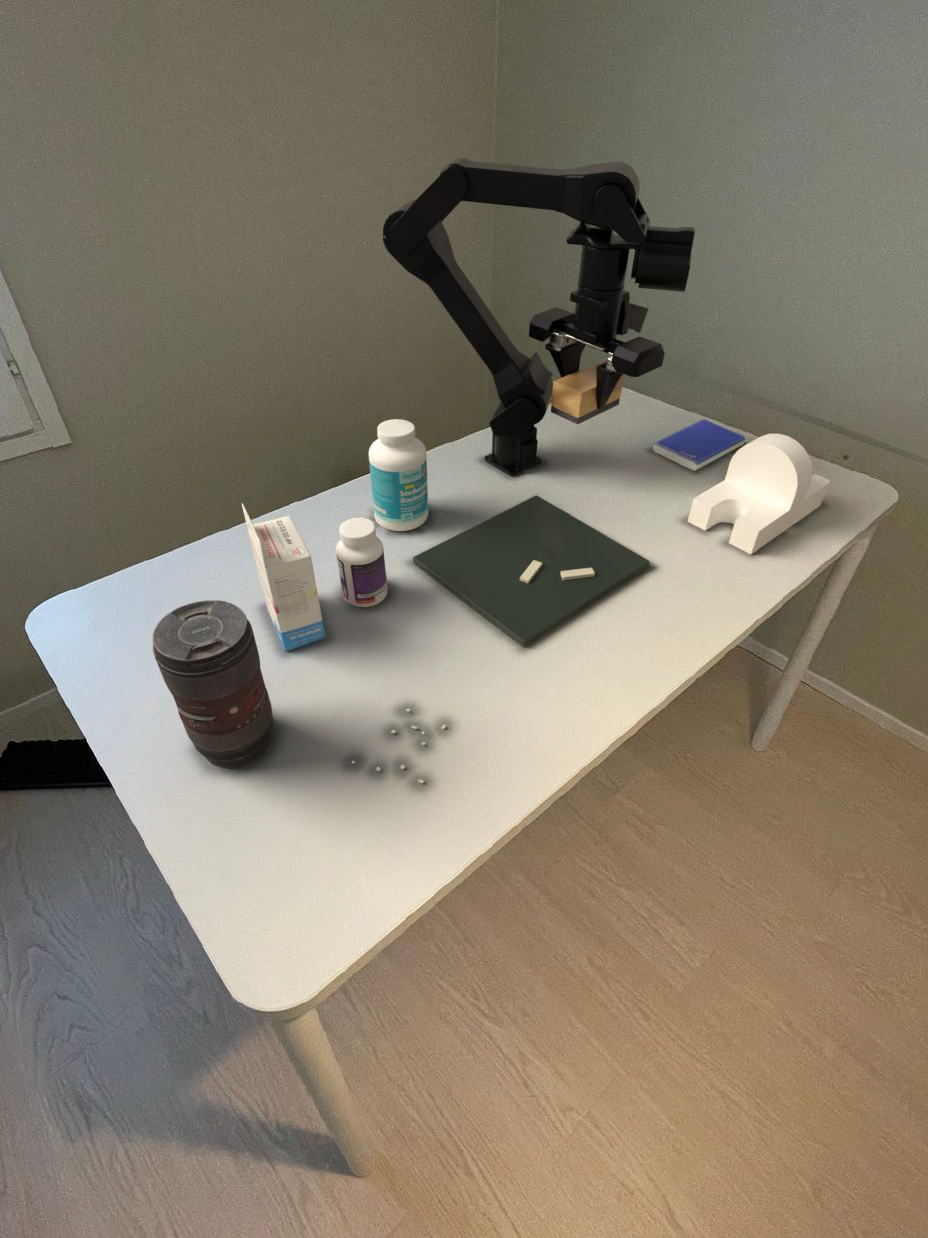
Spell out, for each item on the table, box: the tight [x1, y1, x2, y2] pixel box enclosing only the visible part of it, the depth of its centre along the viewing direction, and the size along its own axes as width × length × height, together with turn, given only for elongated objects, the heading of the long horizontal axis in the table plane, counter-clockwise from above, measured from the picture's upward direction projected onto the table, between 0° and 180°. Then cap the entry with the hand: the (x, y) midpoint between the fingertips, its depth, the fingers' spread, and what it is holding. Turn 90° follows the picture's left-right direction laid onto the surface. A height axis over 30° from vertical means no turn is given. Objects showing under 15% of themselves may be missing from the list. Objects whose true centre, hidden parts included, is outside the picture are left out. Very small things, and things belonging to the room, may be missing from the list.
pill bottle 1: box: [335, 517, 389, 608], centre depth 82 cm, size 5×5×10 cm
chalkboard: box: [412, 494, 651, 648], centre depth 89 cm, size 20×22×1 cm
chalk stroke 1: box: [520, 560, 542, 583], centre depth 86 cm, size 4×1×1 cm, turn 151°
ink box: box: [241, 503, 327, 652], centre depth 76 cm, size 8×5×15 cm, turn 26°
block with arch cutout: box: [687, 433, 830, 556], centre depth 94 cm, size 18×10×11 cm, turn 131°
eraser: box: [550, 362, 625, 425], centre depth 98 cm, size 5×9×4 cm, turn 133°
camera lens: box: [152, 599, 274, 769], centre depth 64 cm, size 8×8×15 cm
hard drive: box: [652, 419, 746, 471], centre depth 110 cm, size 2×8×12 cm
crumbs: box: [351, 708, 447, 784], centre depth 68 cm, size 8×7×1 cm
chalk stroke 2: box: [560, 568, 595, 580], centre depth 86 cm, size 4×1×1 cm, turn 101°
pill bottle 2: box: [368, 418, 429, 532], centre depth 92 cm, size 8×7×14 cm
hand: (585, 401), depth 99 cm, fingers closed on eraser, 5 cm apart
